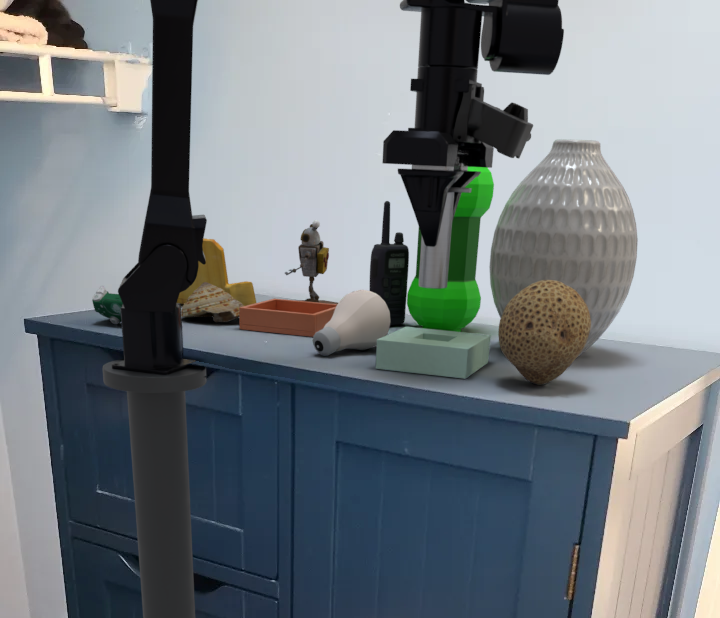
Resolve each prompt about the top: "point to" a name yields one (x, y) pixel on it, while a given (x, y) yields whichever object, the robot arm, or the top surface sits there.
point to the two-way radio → (390, 270)
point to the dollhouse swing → (218, 276)
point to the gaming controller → (108, 305)
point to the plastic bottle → (456, 265)
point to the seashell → (211, 304)
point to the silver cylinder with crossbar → (439, 249)
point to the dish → (286, 316)
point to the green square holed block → (433, 352)
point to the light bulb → (354, 324)
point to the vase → (568, 233)
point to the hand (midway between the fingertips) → (435, 245)
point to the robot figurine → (312, 259)
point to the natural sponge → (544, 330)
